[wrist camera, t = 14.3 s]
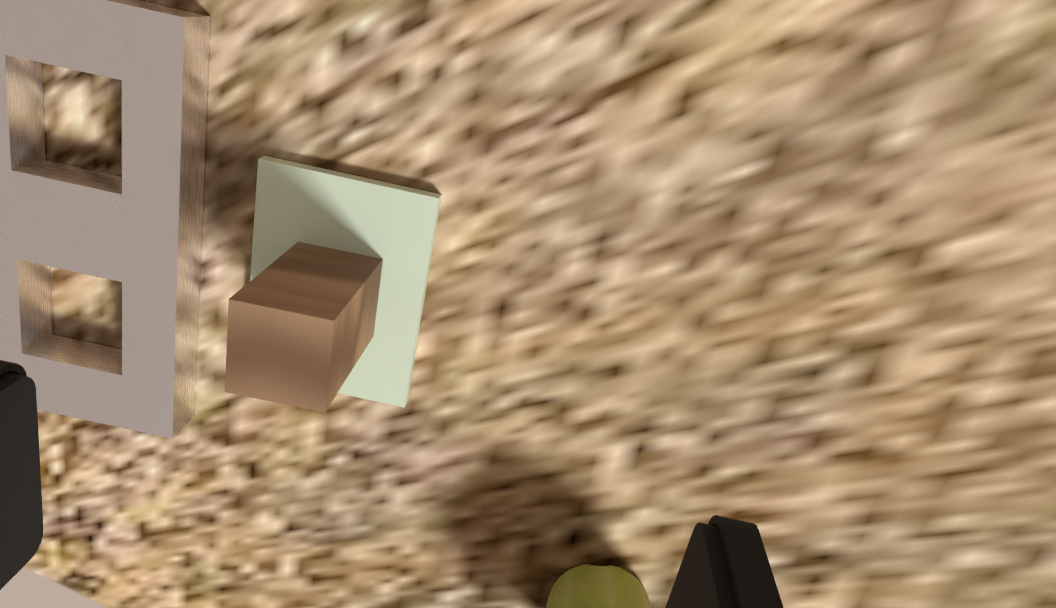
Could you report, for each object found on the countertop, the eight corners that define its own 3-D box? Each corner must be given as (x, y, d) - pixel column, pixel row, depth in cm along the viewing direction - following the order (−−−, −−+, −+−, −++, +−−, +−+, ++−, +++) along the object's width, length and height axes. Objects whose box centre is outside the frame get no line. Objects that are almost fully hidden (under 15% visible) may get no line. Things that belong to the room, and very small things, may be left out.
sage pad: (264, 155, 38) (258, 158, 37) (441, 194, 38) (438, 198, 37) (249, 365, 42) (243, 372, 42) (407, 400, 42) (404, 407, 42)
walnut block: (297, 241, 39) (228, 299, 31) (383, 259, 39) (334, 320, 31) (291, 319, 40) (225, 391, 33) (373, 336, 40) (325, 412, 33)
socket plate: (-21, -35, 35) (-63, -38, 33) (210, 16, 36) (184, 17, 33) (7, 374, 44) (-26, 395, 41) (194, 415, 44) (172, 438, 42)
